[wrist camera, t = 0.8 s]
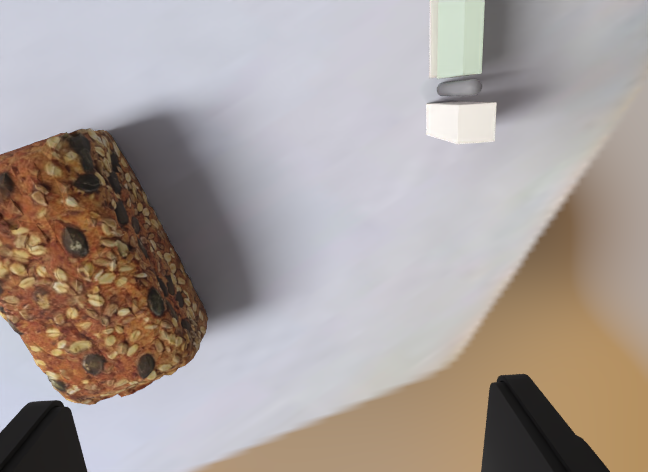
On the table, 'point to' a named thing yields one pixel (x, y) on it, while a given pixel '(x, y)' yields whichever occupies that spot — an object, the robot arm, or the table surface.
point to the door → (460, 45)
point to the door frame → (456, 105)
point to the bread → (91, 270)
